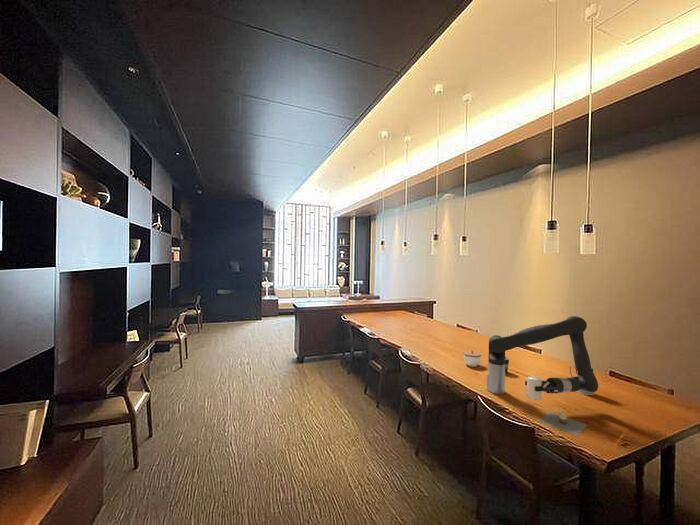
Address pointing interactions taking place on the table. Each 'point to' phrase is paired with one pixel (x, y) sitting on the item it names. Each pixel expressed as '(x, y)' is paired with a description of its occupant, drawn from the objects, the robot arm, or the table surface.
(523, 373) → the table surface
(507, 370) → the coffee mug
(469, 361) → the lidded bowl
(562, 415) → the brass candle
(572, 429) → the slate mat
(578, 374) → the glass holder
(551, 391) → the robot arm
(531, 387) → the cup
